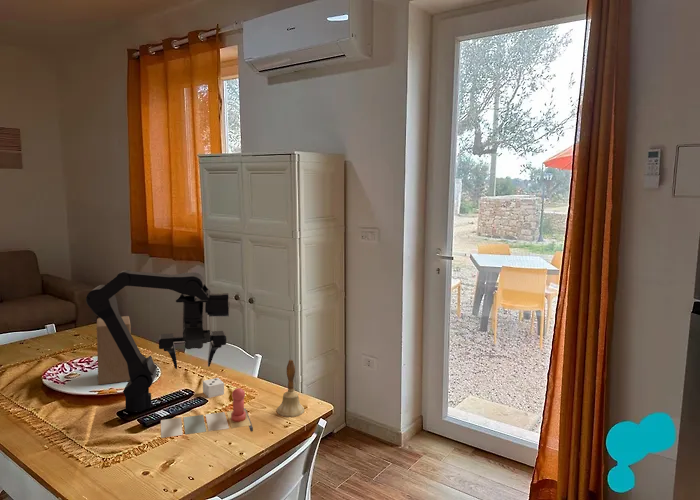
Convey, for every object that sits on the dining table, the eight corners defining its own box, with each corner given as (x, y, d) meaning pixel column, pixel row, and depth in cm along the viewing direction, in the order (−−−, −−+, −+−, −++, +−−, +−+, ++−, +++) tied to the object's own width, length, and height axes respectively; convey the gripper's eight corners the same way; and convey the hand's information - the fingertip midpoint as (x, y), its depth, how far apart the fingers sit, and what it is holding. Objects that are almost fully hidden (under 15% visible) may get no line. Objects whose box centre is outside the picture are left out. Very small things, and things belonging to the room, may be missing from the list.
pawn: (232, 422, 139) (232, 392, 138) (230, 416, 143) (230, 386, 141) (246, 420, 141) (246, 390, 139) (244, 414, 144) (244, 384, 143)
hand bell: (282, 419, 145) (283, 366, 143) (272, 407, 152) (274, 357, 150) (308, 414, 149) (310, 363, 147) (298, 402, 156) (299, 353, 154)
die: (208, 401, 154) (208, 386, 154) (202, 395, 158) (202, 380, 158) (224, 398, 157) (224, 382, 156) (218, 392, 161) (218, 377, 160)
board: (159, 444, 129) (159, 439, 129) (159, 422, 140) (159, 418, 140) (252, 430, 138) (252, 426, 137) (245, 411, 149) (245, 407, 148)
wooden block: (131, 381, 167) (130, 323, 164) (98, 385, 162) (96, 326, 160) (130, 370, 176) (129, 315, 173) (98, 374, 171) (96, 317, 168)
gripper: (158, 326, 135) (158, 381, 137) (229, 322, 141) (228, 375, 143) (159, 315, 145) (159, 366, 147) (224, 312, 151) (223, 361, 154)
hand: (192, 367), depth 147 cm, fingers open, 9 cm apart
